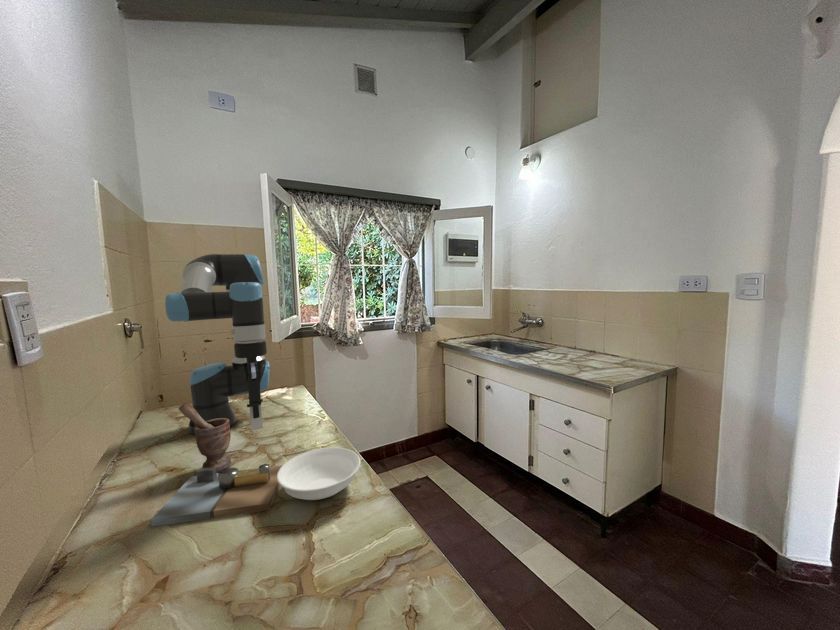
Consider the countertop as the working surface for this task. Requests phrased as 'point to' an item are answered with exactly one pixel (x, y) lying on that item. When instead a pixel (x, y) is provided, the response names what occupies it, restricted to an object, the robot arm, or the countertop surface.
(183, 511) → the board
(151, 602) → the countertop surface
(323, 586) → the countertop surface
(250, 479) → the swing bar
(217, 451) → the mortar and pestle
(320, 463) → the bowl
